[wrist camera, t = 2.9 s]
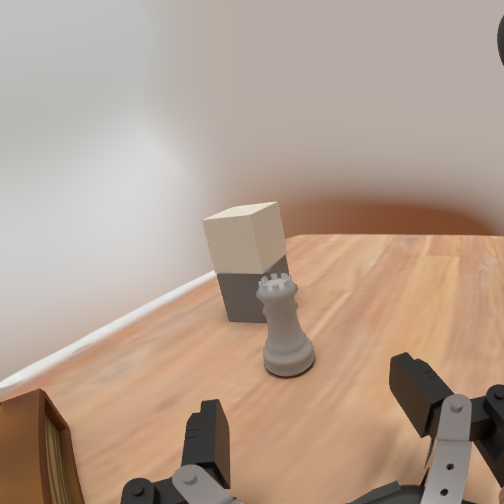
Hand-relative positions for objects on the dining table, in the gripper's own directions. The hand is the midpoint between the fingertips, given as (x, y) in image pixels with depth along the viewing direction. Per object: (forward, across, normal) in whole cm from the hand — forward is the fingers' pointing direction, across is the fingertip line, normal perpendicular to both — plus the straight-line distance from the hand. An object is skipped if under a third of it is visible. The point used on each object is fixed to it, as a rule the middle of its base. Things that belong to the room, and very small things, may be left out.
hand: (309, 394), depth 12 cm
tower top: (+22, +1, +1) cm, 23 cm away
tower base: (+23, +1, +7) cm, 24 cm away
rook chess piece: (+11, 0, +7) cm, 13 cm away
